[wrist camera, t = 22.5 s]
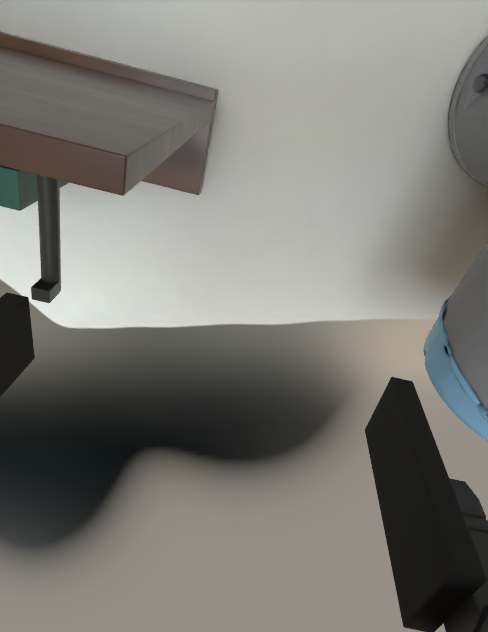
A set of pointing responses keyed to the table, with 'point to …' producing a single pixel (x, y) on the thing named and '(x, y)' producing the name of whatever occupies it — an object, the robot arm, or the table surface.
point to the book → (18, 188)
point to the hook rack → (95, 131)
